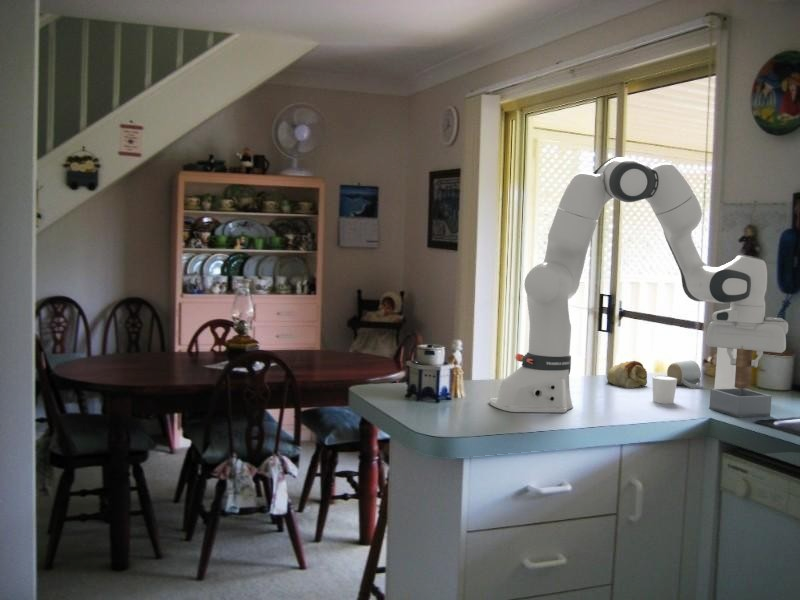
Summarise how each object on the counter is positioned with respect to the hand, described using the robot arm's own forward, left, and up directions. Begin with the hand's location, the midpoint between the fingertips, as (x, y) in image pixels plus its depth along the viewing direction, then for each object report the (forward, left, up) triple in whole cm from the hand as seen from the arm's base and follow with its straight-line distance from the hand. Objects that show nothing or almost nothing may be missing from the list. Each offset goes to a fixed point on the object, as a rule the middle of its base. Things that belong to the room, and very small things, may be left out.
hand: (743, 365), depth 232 cm
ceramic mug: (+12, +38, -13) cm, 42 cm away
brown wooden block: (0, 0, -6) cm, 6 cm away
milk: (+15, +22, -13) cm, 30 cm away
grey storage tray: (0, 0, -13) cm, 13 cm away
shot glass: (-13, +16, -13) cm, 25 cm away
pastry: (-8, +43, -13) cm, 45 cm away
